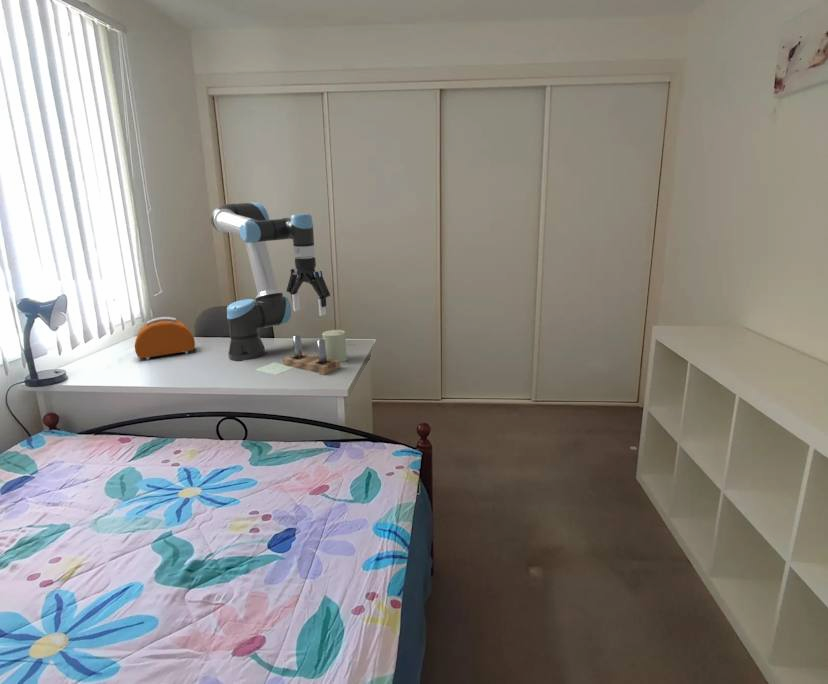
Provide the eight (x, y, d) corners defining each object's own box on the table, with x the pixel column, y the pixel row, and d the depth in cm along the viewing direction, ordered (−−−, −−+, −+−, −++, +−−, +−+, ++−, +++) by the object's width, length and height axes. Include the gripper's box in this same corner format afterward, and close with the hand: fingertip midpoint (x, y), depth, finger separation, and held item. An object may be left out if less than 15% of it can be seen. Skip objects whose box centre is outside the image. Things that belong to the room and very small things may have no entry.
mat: (254, 370, 203) (254, 369, 203) (274, 363, 211) (274, 362, 211) (275, 375, 196) (275, 374, 196) (295, 367, 204) (294, 367, 204)
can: (342, 363, 207) (340, 334, 203) (321, 363, 209) (318, 334, 205) (350, 356, 215) (348, 328, 212) (329, 356, 217) (326, 328, 214)
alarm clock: (195, 347, 237) (189, 312, 232) (196, 352, 229) (190, 316, 224) (138, 356, 228) (130, 319, 223) (137, 362, 220) (129, 323, 215)
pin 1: (294, 364, 208) (291, 336, 204) (299, 362, 210) (296, 334, 207) (299, 366, 206) (296, 337, 203) (305, 363, 208) (301, 335, 205)
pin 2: (318, 370, 200) (315, 340, 197) (323, 367, 203) (320, 338, 199) (323, 371, 199) (321, 341, 195) (329, 369, 201) (326, 339, 198)
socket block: (283, 366, 207) (282, 358, 206) (300, 359, 214) (299, 352, 213) (324, 374, 195) (323, 367, 194) (340, 367, 202) (339, 360, 201)
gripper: (273, 256, 195) (279, 310, 202) (322, 260, 182) (327, 319, 189) (288, 253, 201) (293, 306, 208) (337, 257, 188) (340, 314, 195)
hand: (309, 312), depth 198 cm, fingers open, 13 cm apart
